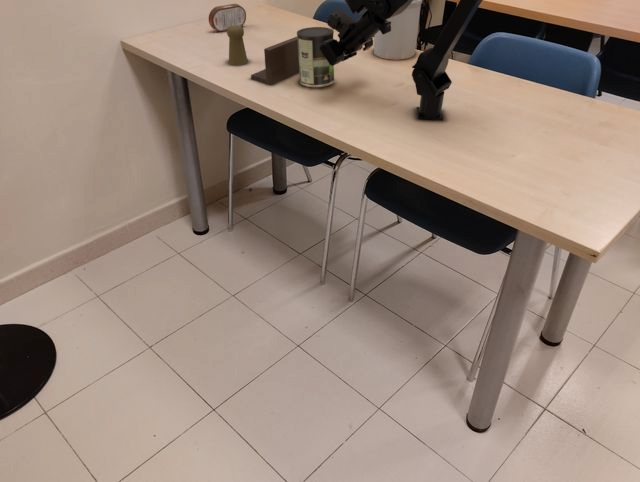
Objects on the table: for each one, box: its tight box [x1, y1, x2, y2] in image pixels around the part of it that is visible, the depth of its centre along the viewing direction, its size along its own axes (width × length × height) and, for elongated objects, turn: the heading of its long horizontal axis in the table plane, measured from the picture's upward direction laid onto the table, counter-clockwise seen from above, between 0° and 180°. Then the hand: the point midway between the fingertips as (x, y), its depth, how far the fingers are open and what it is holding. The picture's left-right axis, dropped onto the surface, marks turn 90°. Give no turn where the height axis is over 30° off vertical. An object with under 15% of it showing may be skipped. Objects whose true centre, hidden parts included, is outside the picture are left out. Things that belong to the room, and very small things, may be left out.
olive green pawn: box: [226, 25, 249, 66], centre depth 158 cm, size 6×6×11 cm
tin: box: [208, 3, 247, 32], centre depth 186 cm, size 15×3×8 cm, turn 130°
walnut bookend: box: [250, 35, 300, 86], centre depth 151 cm, size 8×20×10 cm, turn 143°
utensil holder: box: [373, 0, 423, 61], centre depth 163 cm, size 15×15×18 cm
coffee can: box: [296, 26, 335, 88], centre depth 144 cm, size 10×10×14 cm
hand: (329, 62), depth 142 cm, fingers closed, pressing on coffee can
